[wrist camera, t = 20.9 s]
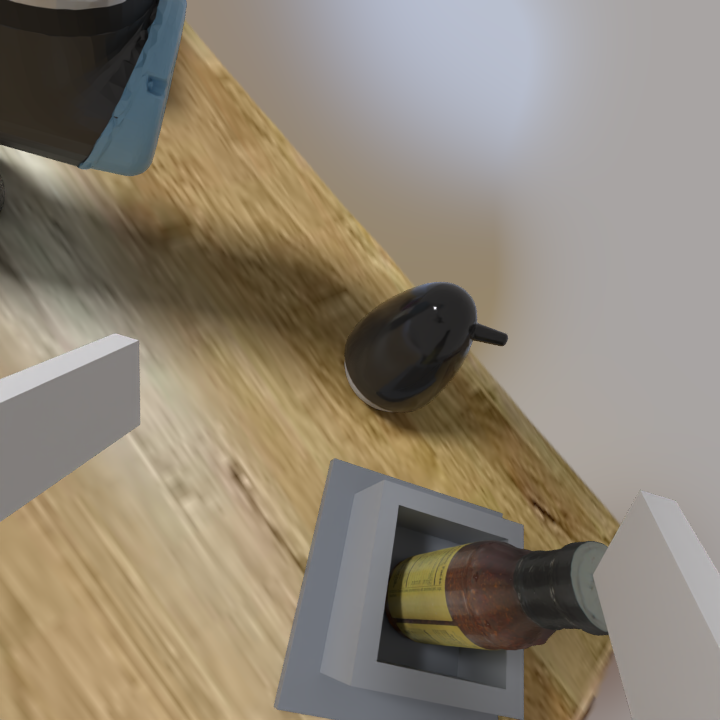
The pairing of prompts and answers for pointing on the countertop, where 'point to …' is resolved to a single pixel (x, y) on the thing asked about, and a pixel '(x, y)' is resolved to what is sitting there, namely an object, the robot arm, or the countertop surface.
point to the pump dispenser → (413, 346)
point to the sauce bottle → (495, 595)
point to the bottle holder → (368, 617)
